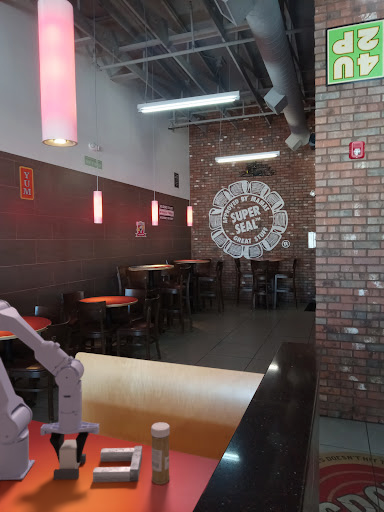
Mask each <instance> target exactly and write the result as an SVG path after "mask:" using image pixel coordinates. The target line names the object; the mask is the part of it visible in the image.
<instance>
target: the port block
mask: <svg viewBox="0 0 384 512" xmlns="http://www.w3.org/2000/svg"><path fill="white" fill-rule="evenodd" d="M99 454H100V455H99V457H100V461H99V462H101V463H102V462H104V463H106V462H107V463H108V462H130V466H109V467H106V466H101V467H94V469H93V471H92V483H113V482H114V483H119V482H121V483H123V482H125V483H126V482H139V478H140V472H141V466H142V460H143V446H142V445H135V446H134V447H117V448H115V447H113V448H112V447H111V448H110V447H109V448H107V447H105V448H101V451H100V453H99Z"/></svg>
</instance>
